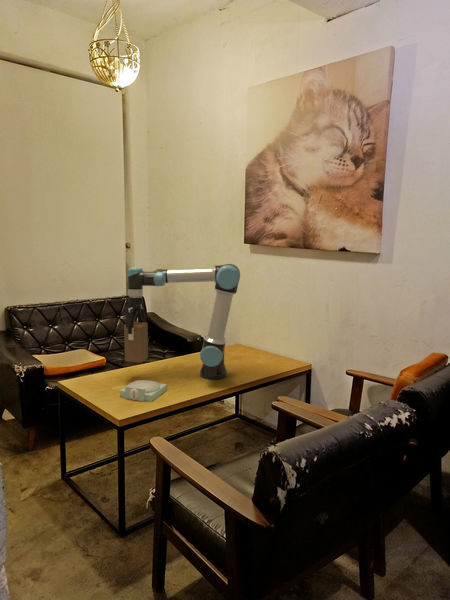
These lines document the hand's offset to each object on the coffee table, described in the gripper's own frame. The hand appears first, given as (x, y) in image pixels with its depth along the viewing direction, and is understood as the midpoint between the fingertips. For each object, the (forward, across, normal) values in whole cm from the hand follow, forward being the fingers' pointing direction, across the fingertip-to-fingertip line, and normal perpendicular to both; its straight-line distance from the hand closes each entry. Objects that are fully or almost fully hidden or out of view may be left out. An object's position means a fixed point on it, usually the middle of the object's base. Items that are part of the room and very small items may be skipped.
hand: (136, 337), depth 244 cm
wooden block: (+13, 0, 0) cm, 13 cm away
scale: (+24, +17, +13) cm, 32 cm away
